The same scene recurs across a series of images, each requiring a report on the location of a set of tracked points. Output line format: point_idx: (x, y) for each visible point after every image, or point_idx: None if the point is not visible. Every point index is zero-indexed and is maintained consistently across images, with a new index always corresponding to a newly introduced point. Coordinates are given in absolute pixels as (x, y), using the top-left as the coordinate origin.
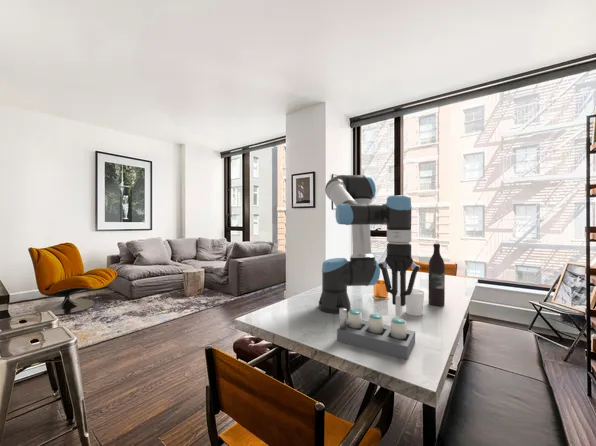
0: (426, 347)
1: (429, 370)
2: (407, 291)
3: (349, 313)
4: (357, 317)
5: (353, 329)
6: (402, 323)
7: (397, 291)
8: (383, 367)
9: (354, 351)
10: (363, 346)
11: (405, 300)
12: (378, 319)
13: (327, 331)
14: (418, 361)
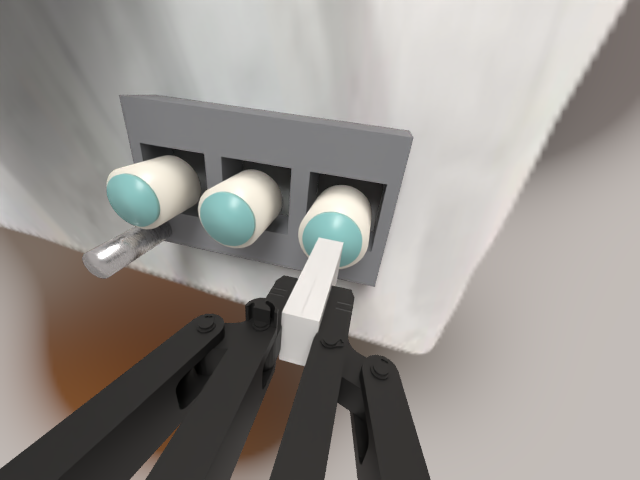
0: (450, 153)
1: (430, 294)
2: (358, 427)
3: (124, 217)
4: (166, 220)
5: (189, 220)
6: (350, 260)
7: (274, 334)
8: None
9: (240, 262)
10: None
11: (351, 314)
12: (248, 243)
13: (116, 168)
14: (406, 261)
